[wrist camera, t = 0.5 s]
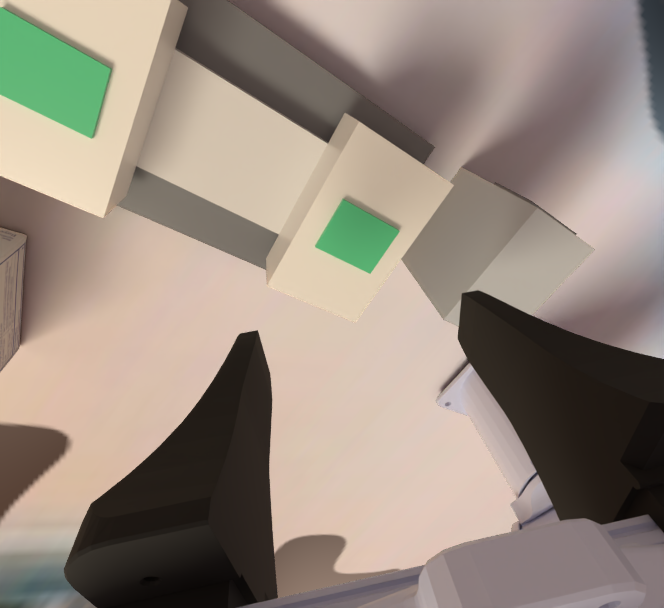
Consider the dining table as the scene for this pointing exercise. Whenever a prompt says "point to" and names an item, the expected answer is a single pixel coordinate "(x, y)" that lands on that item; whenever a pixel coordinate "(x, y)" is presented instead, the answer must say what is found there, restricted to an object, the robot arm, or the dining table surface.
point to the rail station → (213, 139)
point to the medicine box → (10, 292)
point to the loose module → (492, 248)
